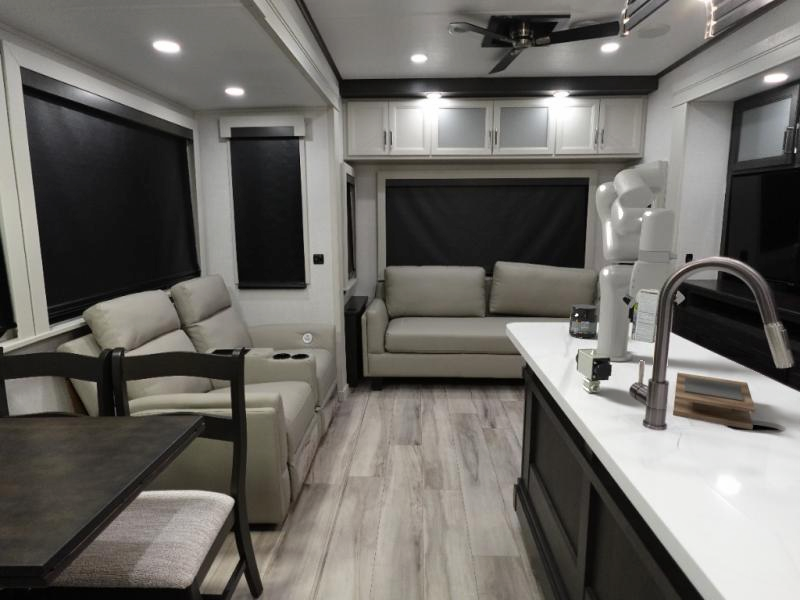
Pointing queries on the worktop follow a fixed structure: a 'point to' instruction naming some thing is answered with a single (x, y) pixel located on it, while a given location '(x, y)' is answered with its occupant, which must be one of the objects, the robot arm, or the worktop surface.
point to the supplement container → (583, 321)
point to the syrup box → (645, 315)
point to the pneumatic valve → (593, 368)
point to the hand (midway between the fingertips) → (647, 322)
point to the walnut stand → (713, 400)
